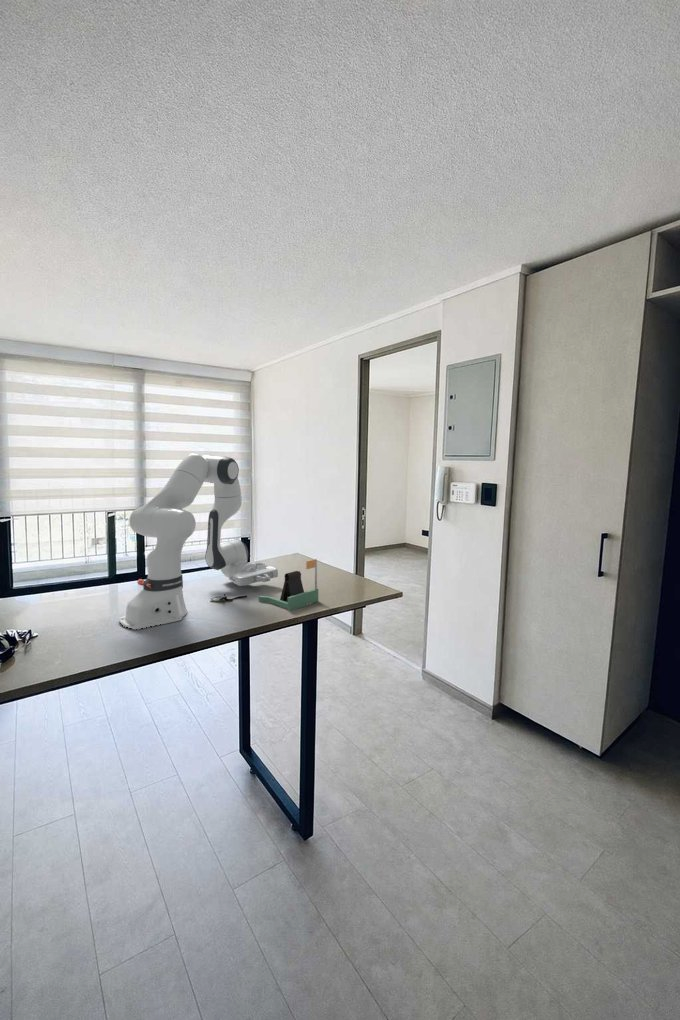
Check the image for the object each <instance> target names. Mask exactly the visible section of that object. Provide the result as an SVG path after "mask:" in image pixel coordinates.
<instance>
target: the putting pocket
mask: <svg viewBox="0 0 680 1020" xmlns="http://www.w3.org/2000/svg"><path fill="white" fill-rule="evenodd" d="M305 565H306V568H305V569H306V570H309V569H313V568H314V589H310V590H307V591H304V592H303V593H300V594H297V595H293V596H290V597H287V600H288V602H285V601H282V600H280V599H278V598H275V597H272V596H266V595H259V596H258V602H259V603H269V604H272V605H275V606H277V607H280V608H284V609H286V610H287V611H288V610H289V612H291V610H292V611H295V610H298V609H299V608H303V607H306V606H308V605H307V604H309V605H311V604H310V603H312V604H314V603H313V602H315V603H317V602H316V601H318V602H319V588H318V559H317V558H315V559H311V560H307V561H306V564H305ZM305 605H306V606H305ZM294 609H295V610H294Z"/></svg>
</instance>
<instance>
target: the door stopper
mask: <svg viewBox="0 0 680 1020" xmlns="http://www.w3.org/2000/svg"><path fill="white" fill-rule="evenodd" d="M303 592H305V590H304V587H303V582H302V573H301V571H300V570H299V571H298V570H295V571H291V572H286V573H285V574H284V582H283V587H282V590H281V595H280V599H279V600H282V601H285V602H288V600H287V597H290V596H293V595H297V594H300V593H303Z"/></svg>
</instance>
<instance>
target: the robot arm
mask: <svg viewBox="0 0 680 1020" xmlns="http://www.w3.org/2000/svg"><path fill="white" fill-rule="evenodd" d="M239 469H240V468H239V465H238V463H237V462H236V460H235V459H234V458H232V457H230V456H219V455H211V454H210V455H200V454H199V453H190V454H188V455H187V456H185V458H184V459H182V461H181V462H180V463H179V464H178V466H176V468H175V470H174V471H173V473H172V474H171V476H170V478H169V479H168V481H167V482H166V484H165V485H164V487H163V488H162V489H161V490H160V491H159V492H158V493H157V494H156V495H155V496H154V497H153V498H152V499H151V500H149V501H148V502H147V503H145V504H143V505H142V506H139V507H137V508H136V509H134V510H133V511H132V512H131V514H130V516H129V526H130V529H131V531H132V532H134V533H136V534H138V535H141V536H144V537H147V538H156V545H155V548H154V549H153V550H152V551H150V552H149V553H148V555H147V556H146V563H147V567H146V568H147V577H146V579H145V580H144V579H142V578H139V579H138V580H137V585H139V586H142V590H140V591H139V593H137V594H136V595H135V596H134V597H133V598H132V599H130V601H128V602H127V605H126V609H125V615H122V616H120V617H119V618H118V623H119V622H120V623H121V624H122V625H123V626H122V625H121V624H120V623H119V624H120V625H121V626H122V627H124V626H125V627H124V628H126V627H128V628H127V629H129V628H133V629H132V630H136V629H137V630H141V628H143V629H146V627H147V628H150V626H152V627H156V626H155V625H157V626H161V625H165V624H171V623H174V622H179V621H182V620H183V617H184V616H186V615H187V614H188V609H187V607H186V603H185V602H186V601H185V598H184V594H183V593H184V591H183V588H184V581H183V580H184V579H183V573H182V565H181V564H182V553H183V552H182V551H183V547H184V545H185V543H186V541H187V540H188V539H189V538H190V537H191V536H192V535H193V534H194V532H195V529H196V527H197V526H196V518H195V516H194V515H193V513H192V512H190V511H187V510H186V509H185V508H187V507H189V506H191V505H192V503H194V501H195V498H196V497H197V495H198V493H199V491H200V489H201V488H202V487H203V484H204V483H210V484H213V492H214V503H213V507H212V508H211V511H209V513H208V520H207V521H208V522H207V538H206V541H207V543H206V550H205V557H204V558H205V564H206V565H207V566H208V567H209V568H210V569H212V570H215V571H221V573H222V574H223V575H224V576H225V577H226V578H228V580H229V581H231V582H233V584H235V585H236V586H239V587H243V586H247V585H252V584H255V583H259V582H263V583H267V582H270V581H271V579H275V578H277V577H279V569H278V568H276V567H275V566H271V565H267V564H265V563H263V562H259V563H253V562H249V563H248V560H249V549H248V547H247V545H246V543H244V542H243V541H242V540H241V539H233V540H230V541H227V542H225V543H222V544H221V537H222V535H221V533H222V528H223V526H224V524H225V523H226V522H227V521H228V520H229V519H230V518H232V517H233V516H235V515H236V514H237V513H238V511H240V509H241V507H242V502H243V501H242V498H243V497H242V492H241V485H240V479H239ZM160 624H161V625H160Z"/></svg>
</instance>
